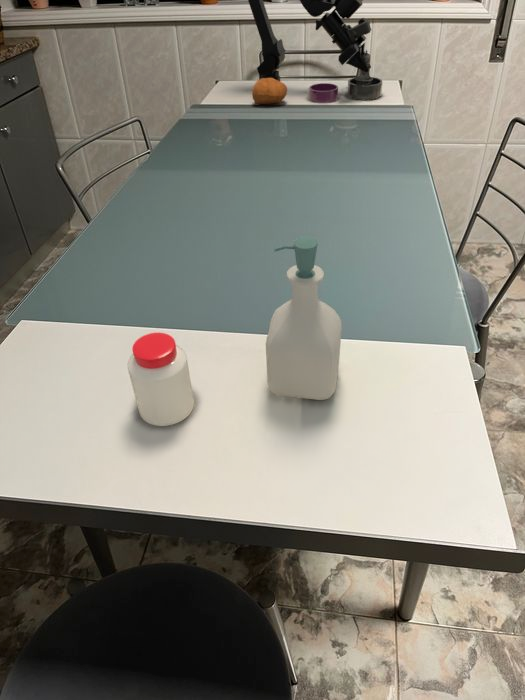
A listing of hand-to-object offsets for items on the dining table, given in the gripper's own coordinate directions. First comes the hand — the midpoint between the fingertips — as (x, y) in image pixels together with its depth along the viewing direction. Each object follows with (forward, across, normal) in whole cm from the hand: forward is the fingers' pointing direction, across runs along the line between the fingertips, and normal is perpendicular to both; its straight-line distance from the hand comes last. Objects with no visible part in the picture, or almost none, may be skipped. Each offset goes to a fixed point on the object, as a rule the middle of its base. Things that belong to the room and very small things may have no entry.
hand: (369, 69), depth 181 cm
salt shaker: (+4, 0, +6) cm, 7 cm away
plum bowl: (-4, -6, +15) cm, 17 cm away
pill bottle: (+3, -151, +9) cm, 151 cm away
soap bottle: (+15, -141, -4) cm, 142 cm away
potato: (-15, -14, +27) cm, 34 cm away
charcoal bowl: (+5, 0, +6) cm, 8 cm away
